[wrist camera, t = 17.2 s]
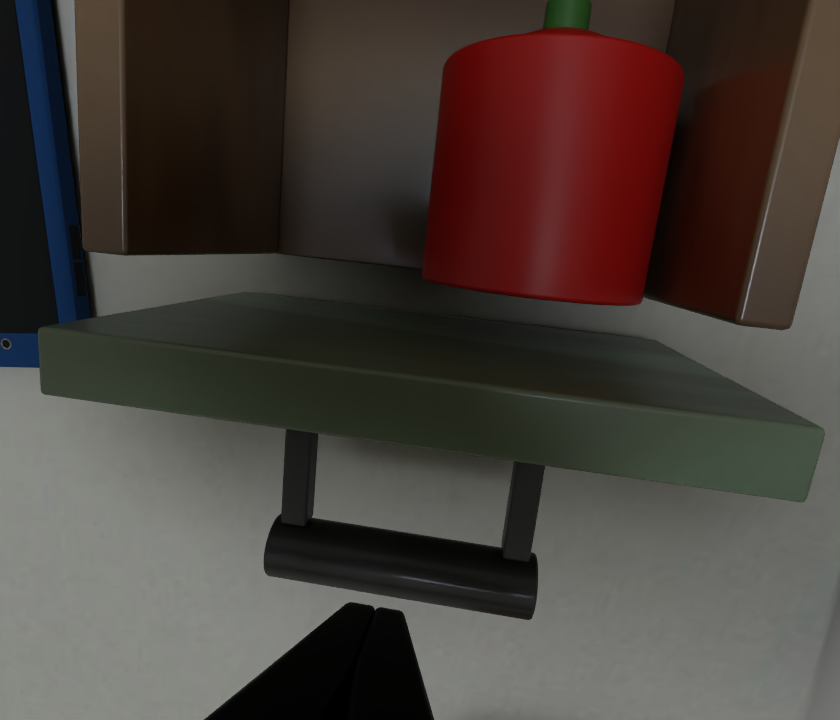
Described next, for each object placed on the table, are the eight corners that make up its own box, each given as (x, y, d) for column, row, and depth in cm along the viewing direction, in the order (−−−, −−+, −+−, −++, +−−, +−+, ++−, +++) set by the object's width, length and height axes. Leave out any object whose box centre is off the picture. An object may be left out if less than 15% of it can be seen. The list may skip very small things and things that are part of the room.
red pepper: (481, 277, 15) (509, 55, 14) (660, 302, 13) (714, 33, 11) (377, 276, 11) (404, -35, 10) (607, 311, 9) (680, -99, 7)
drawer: (619, 526, 16) (735, 763, 9) (237, 469, 18) (50, 634, 10) (780, -272, 12) (1273, -1140, 5) (261, -278, 13) (-35, -978, 6)
